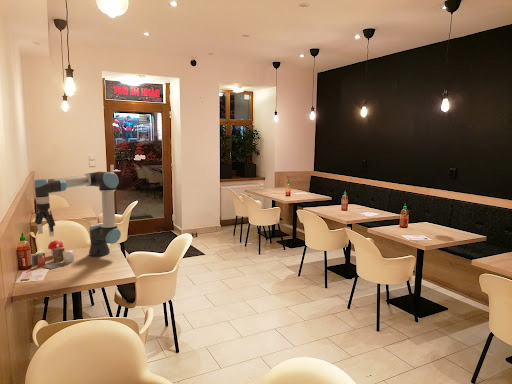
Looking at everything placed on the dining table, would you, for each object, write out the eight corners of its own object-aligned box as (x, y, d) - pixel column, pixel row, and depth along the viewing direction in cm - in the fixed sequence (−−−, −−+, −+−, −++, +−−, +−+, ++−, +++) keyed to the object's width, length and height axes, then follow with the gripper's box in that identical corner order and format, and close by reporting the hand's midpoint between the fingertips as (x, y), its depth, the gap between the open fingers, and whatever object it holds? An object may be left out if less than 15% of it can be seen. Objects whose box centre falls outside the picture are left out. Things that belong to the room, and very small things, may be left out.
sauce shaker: (42, 264, 276) (41, 253, 275) (46, 265, 274) (45, 253, 273) (37, 266, 273) (36, 254, 272) (40, 267, 271) (39, 255, 270)
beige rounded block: (70, 259, 287) (69, 249, 285) (76, 261, 283) (75, 250, 282) (61, 262, 281) (60, 251, 279) (67, 263, 277) (66, 253, 276)
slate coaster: (56, 262, 280) (56, 261, 280) (65, 264, 275) (65, 264, 275) (41, 266, 271) (41, 266, 271) (51, 269, 265) (50, 268, 265)
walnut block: (60, 258, 290) (59, 247, 288) (65, 259, 287) (64, 248, 286) (53, 260, 285) (52, 248, 284) (58, 261, 282) (57, 249, 281)
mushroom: (67, 254, 299) (66, 239, 298) (53, 258, 290) (52, 243, 289) (59, 252, 305) (58, 238, 303) (45, 256, 296) (44, 241, 294)
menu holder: (43, 261, 283) (42, 252, 282) (45, 262, 281) (44, 253, 280) (32, 264, 276) (31, 255, 275) (34, 265, 275) (33, 256, 274)
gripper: (27, 202, 250) (30, 233, 253) (47, 205, 237) (50, 238, 240) (38, 200, 257) (41, 231, 260) (59, 203, 243) (62, 236, 246)
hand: (46, 235), depth 250 cm, fingers open, 13 cm apart
